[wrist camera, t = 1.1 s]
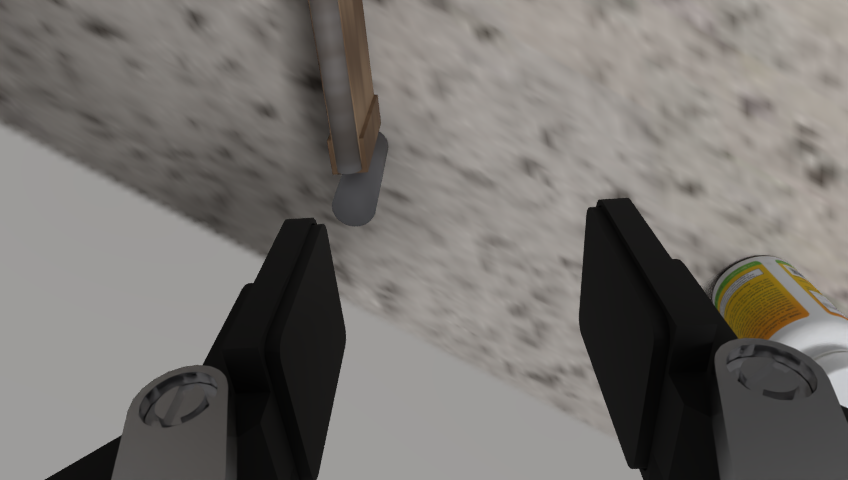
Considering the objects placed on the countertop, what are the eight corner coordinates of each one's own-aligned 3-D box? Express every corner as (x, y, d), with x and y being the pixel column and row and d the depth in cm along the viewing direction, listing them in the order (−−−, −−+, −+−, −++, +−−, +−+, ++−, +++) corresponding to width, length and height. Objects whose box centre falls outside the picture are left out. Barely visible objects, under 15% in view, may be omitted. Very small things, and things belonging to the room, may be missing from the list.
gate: (321, -85, 26) (284, -87, 20) (355, -88, 26) (329, -91, 20) (352, 125, 31) (330, 179, 25) (380, 123, 31) (366, 177, 25)
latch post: (351, 130, 32) (328, 188, 25) (386, 128, 32) (373, 185, 25) (356, 163, 33) (335, 227, 26) (390, 160, 33) (378, 224, 26)
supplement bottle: (703, 322, 39) (778, 434, 30) (718, 255, 36) (805, 358, 27) (783, 318, 38) (882, 431, 30) (804, 251, 36) (919, 353, 27)
